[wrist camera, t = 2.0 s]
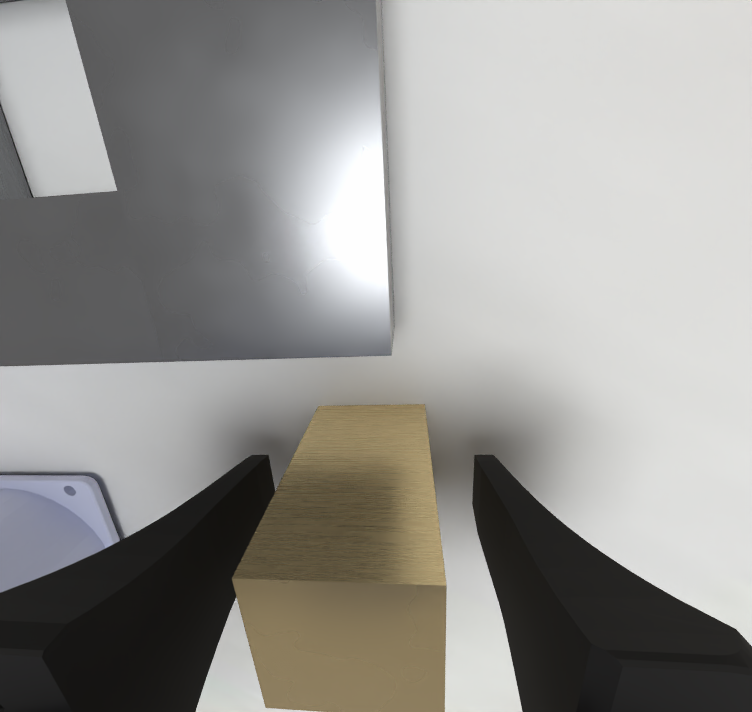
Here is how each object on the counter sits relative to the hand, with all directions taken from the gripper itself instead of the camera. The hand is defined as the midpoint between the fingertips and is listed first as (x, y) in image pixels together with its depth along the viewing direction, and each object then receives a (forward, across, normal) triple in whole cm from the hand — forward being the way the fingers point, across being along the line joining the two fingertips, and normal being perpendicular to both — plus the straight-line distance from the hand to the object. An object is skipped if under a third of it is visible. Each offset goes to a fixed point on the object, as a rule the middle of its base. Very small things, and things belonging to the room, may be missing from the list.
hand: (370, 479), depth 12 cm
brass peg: (+2, 0, 0) cm, 2 cm away
